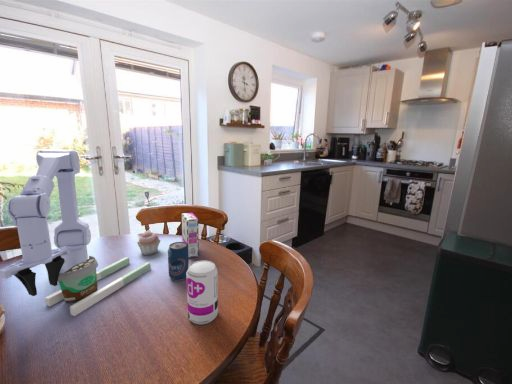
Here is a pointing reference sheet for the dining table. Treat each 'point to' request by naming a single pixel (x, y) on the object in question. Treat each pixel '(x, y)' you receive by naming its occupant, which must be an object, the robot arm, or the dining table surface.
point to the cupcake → (148, 243)
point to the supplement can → (202, 292)
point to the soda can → (178, 260)
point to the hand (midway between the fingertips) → (43, 289)
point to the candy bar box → (190, 233)
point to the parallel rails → (105, 290)
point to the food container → (79, 281)
